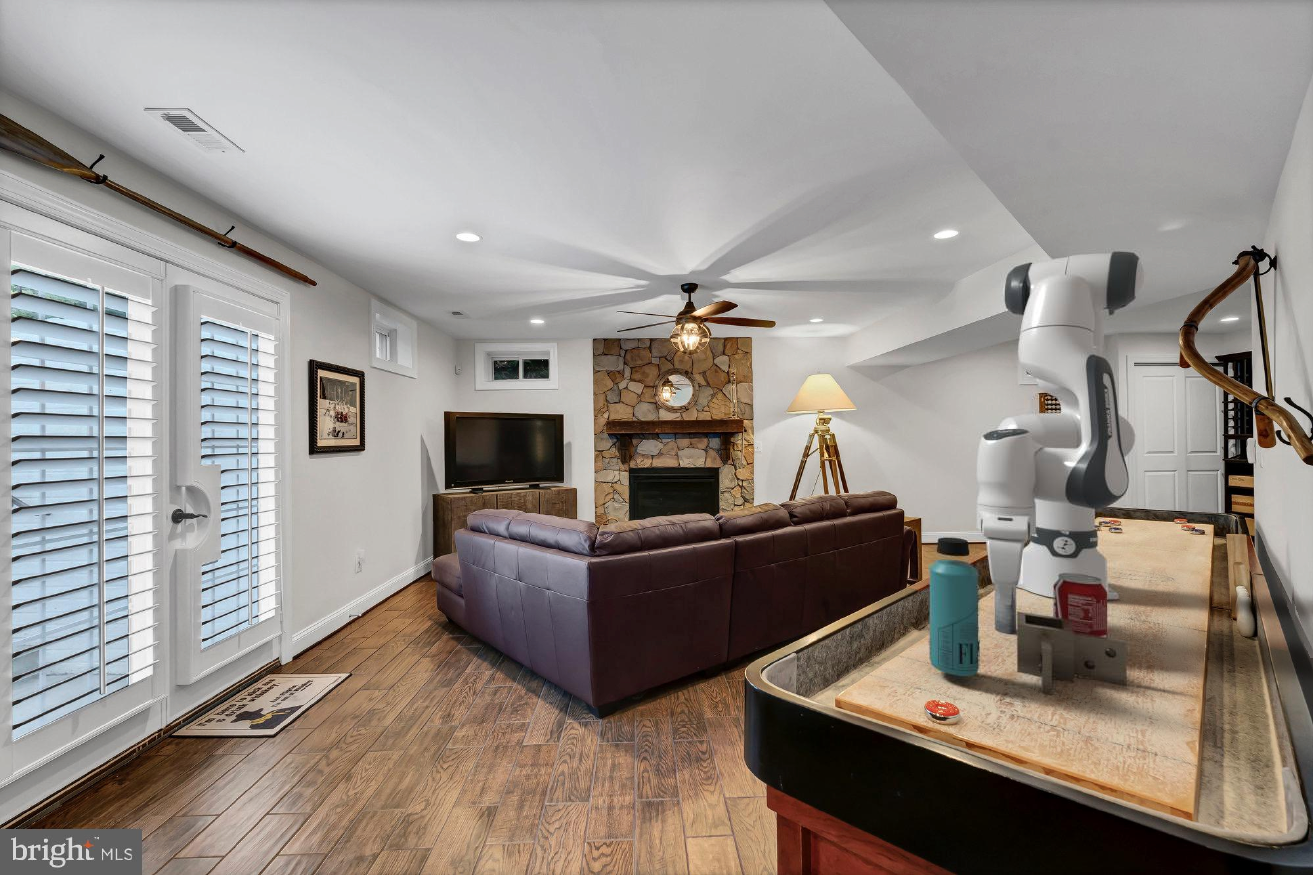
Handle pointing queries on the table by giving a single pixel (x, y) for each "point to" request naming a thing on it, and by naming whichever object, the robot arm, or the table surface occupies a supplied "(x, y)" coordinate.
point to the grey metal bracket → (1067, 652)
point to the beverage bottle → (954, 611)
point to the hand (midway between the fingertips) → (1005, 598)
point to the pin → (1005, 614)
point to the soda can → (1081, 603)
